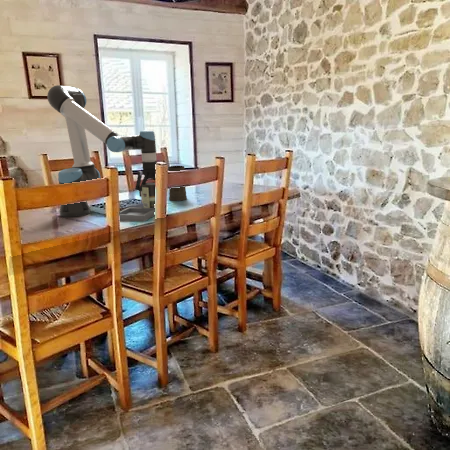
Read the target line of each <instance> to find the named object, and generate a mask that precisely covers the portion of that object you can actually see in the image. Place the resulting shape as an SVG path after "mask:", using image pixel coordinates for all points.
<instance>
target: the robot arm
mask: <svg viewBox="0 0 450 450" xmlns="http://www.w3.org/2000/svg"><path fill="white" fill-rule="evenodd" d="M46 95H47V102H48V103H49V105H50V107H52V108H53V109H54V110H55V111H57V112H58V113H60V115H62V117H64V118H65V122H66V124H65V125H66V127H67V133H68V138H69V143H70V148H71V153H72V158H73V164H72V166H71V167H70V168H65V169H64V168H63V169H62V170H60V171H59V172H58V173H57V174H58V175H57V176H58V178H57V181H58V184H64V183H72V182H80V181H86V180H92V179H97V178H100V179H101V174H100V171H99V170H98V169H97V168H96V166H95V163H94V162H93V161H92V160H91V156H90V150H89V145H88V139H87V134H86V133H87V132H89V133H91V134H92V135H93V136H94V137H95V138H96V139H97V138H98V139H99V140H100V141H101V142H102V143H104V144H105V145H106V147H107V149H108V150H109V151H110V152H111V153H112V152H113V153H122V152H126V151H135V150H136V151H137V150H139V151H141V153H140V154H141V161H142V162H141V163H142V165H141V166H142V171H141V170H140V171H137V179H136V182H135V190H136V191H138V192H139V197H140V198H141V199H140V200H141V204H143V195H142V186H141V184H143V185H144V184H145V183H147V182H148V180H153V181H155V164H156V163H157V164H158V162H157V150H156V148H157V147H156V135H155V131H154V130H141V131H140V132H139V134H123V135H122V134H121V135H120V134H119V133H117V132H116V131H115V130H113V129H112V128H111V127H109V126H108V125H106V123H104V122H103V121H101V120H100V119H98V118H97V117H96V116H94V115H93V114H91V113H90V112H89V111H87V110H86V109H85V107H86V105H87V97H86V95H85V93H84V92H83V91H82V90H81V89H79V88H78V87H75V86H68V85H60V84H57V85H53V86H52V87H50V88H49V90H48V91H47V94H46ZM86 131H87V132H86ZM142 177H143V179H142ZM141 181H142V182H141ZM90 213H91V207H90V206H89V203H88V202H87V200H86V202H80V203H74V204H67V205H61V204H60V207H59V216H60V217H63V218H73V217H74V218H75V217H82V216H86V215H89V214H90Z"/></svg>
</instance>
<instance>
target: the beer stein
mask: <svg viewBox="0 0 450 450" xmlns="http://www.w3.org/2000/svg"><path fill="white" fill-rule="evenodd" d="M168 170H169V171H180V170H186V168H185V166H184V165H171V166H168V167H167V171H168ZM168 195H169V197H168V199H169V201H174V202H179V201H185V200H187V199H188V196H187V190H186V186H185V187H180V188H171V189H170V188H169V193H168Z"/></svg>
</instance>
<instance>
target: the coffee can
mask: <svg viewBox="0 0 450 450" xmlns="http://www.w3.org/2000/svg"><path fill="white" fill-rule="evenodd" d="M140 186H142V195H143V203H142V204H143V205H142V206H143V207H142V208H154V204H155V181H154V182H146V183H145V184H144V185H143V184H142V183H140Z"/></svg>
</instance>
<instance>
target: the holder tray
mask: <svg viewBox="0 0 450 450" xmlns="http://www.w3.org/2000/svg"><path fill="white" fill-rule="evenodd" d="M119 212H120V220H119V221H123V222H124V221H126V222H127V221H129V222H130V221H131V222H146V221H148V220H149V219H152V218H153V217H154V216H155V215H154V212H155V208H144V207H127V208H124V209H123V210H121V211H119Z"/></svg>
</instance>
